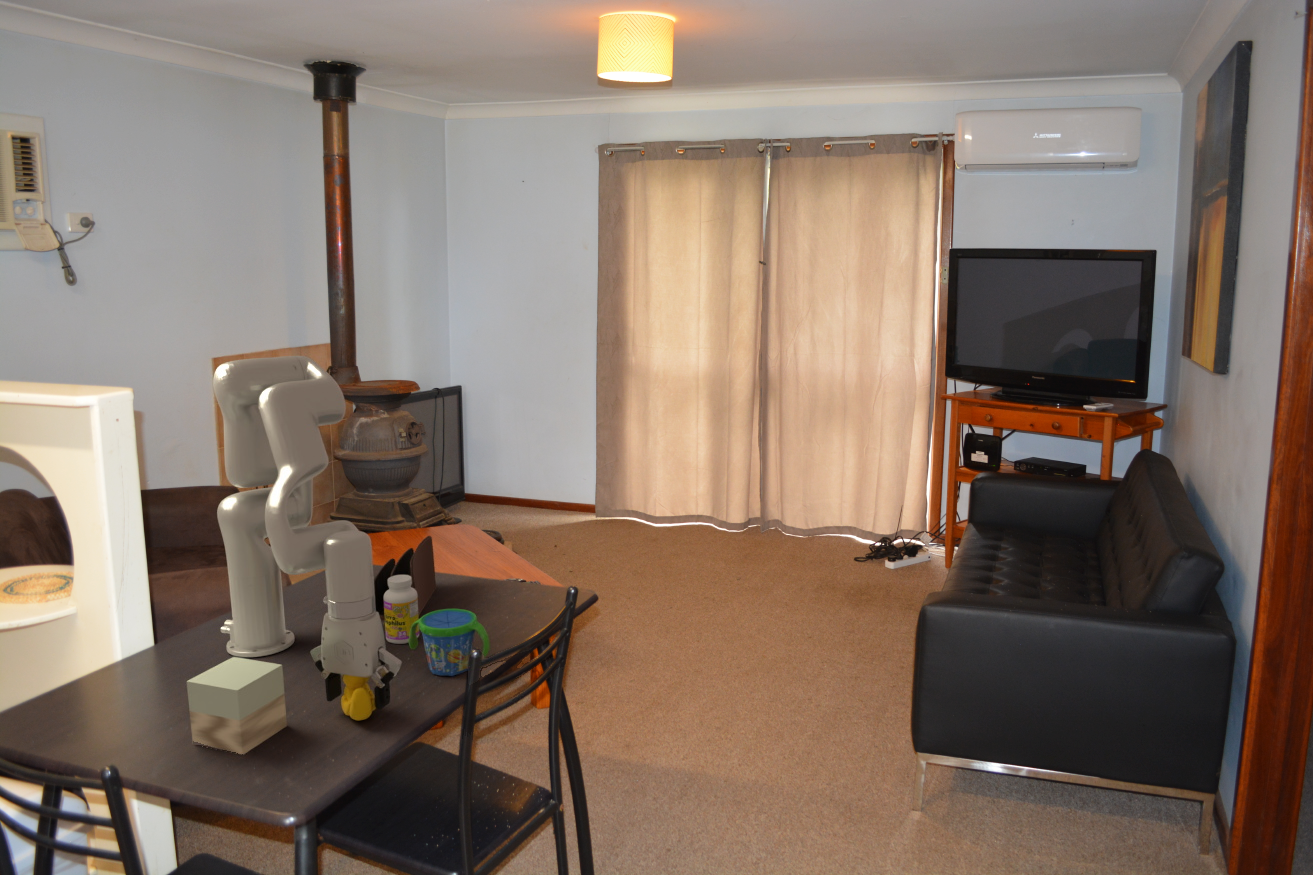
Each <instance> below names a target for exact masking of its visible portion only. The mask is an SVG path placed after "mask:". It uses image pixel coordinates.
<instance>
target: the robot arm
mask: <svg viewBox="0 0 1313 875" xmlns="http://www.w3.org/2000/svg"><path fill="white" fill-rule="evenodd" d="M212 380H213V381H212V384H213V386H212V387H213V393H214V396H215V398H216V400H217V401H216V402H217V403H218V406H219V408H220V409H219V410H220V411H221V416H222V422H223V446H224V447H223V451H224V467H225V468H224V470H225V475H226V479H227V481H228V483H229V484H230V485H232V486H234V487H236V488H240V489H241V488H242V489H247V488H249V489H250V488H256V487H260V488H256V489H250V490H246V491H240V492H236V493H233V494H230V495H228V496H226V497H225V498H224V499H222V500H221V501H220V503H219V504H218V505H217V506H218V507H217V510H216V511H217V512H216V516H217V522H218V526H219V529H220V534H221V536H222V540H223V544H224V549H225V556H226V564H227V574H228V583H229V584H228V585H229V596H230V603H231V604H230V605H231V606H230V607H231V616H232V619H226V620H225V621H224V624H223V625H222V626H221V627H220V633H223V634H229V638H230V639H229V640H228V641H227V643H226V652H227V653H228V654H230V655H231V656H233V657H238V658H259V657H264V656H269V655H274V654H278V653H279V652H282V651H284V650H286V649H288V648H289V647H291V646H292V645H293V644H295V643H294V642H295V634H294V633H293V631H291V630H290V629H289V630H288V629H286V620H285V608H284V595H283V584H282V583H283V582H282V572H283V573H285V574H288V575H290V576H291V575H292V576H295V575H296V576H297V575H303V574H306V573H311V572H314V571H321V570H323V569H324V571H325V572H324V573H325V586H326V595H325V596H323V599H322V601H323V604H324V605H327V612H326V613H324V615H323V621H322V627H321V644H320V645H318V646H316V647H314V648H313V649H311V650H310V652H309V653H310V655H311V657H312V660H313V661H314V662H315V663H314V665H315V667H316V669H317V670H318V671H319V672H320V676H321V679H324V682H325V694H326V701H327V702H332V701H334V700H335V699H337V698H338V697H339V696H342V695H343V694H342V692H343V691H342V680H341V678H342V674H343V675H349V676H356V677H363V678H367V677H369V678H371V679H372V680H373V682H374V683H375V685H376V686H375V687H374V688H373V689H374V691H373V693H374V698H375V707H376V708H375V710H378V711H380V710H382V709H383V708H384V707H386V706H388V705H389V704H390V701H391V687H390V686H391V684H390V682H392V681H393V680H394V678H395V677H397V675H398V674H399V671H400V668H401V666H402V664H403V661H402V660H401V659H399V658H398V656H397V657H396V656H395V655H394V654H392V653H391V652H389V651H388V650H387V647H386V645H387V644H386V640H385V639H386V637H385V634H384V632H385V631H384V628H383V623H382V620H381V619H380V616H379V613H378V612H376V606H375V591H374V578H375V577H374V561H373V547H372V540H371V537H370V535H368V533H366V532H364V531H360V530H359V529H358V528H357V527H356V525H355V524H354V523H353V522H351V521H349V520H342V519H341V520H335V521H330V522H325V523H318V524H314V525H310V523H311V521H312V517H313V511H314V510H313V509H314V506H313V505H314V503H313V502H314V489H313V488H314V478H315V477H317V476H318V475H320V474H321V473H323V472H324V471H325V470H326V469H327V467H328V465H329V460H330V459H329V456H328V453H327V451H326V447H325V443H324V442H323V438H322V434H321V431H320V428H319V427H320V426H322V427H323V426H329V425H335V424H338V423H340V422H341V421H342V420H343V419H344V417H345V414H346V411H347V410H346V408H347V406H346V400H345V396H344V394H343V391H342V389H341V387H340V386H339V384H338V382H337V381H336V380H335V379H334V378H333V376H331V375H330V373H329V372H327V371H326V370H325V369H324V368H322V366H320V364H318V363H317V362H316V361H315V360H313V359H312V358H310V357H308V356H305V355H285V356H274V357H257V358H255V357H254V358H244V359H237V360H236V359H235V360H231V361H227V362H223V363H222V364H220V365H219V366H218V367H217V368H216V369H215V371H214V375H213V379H212ZM270 485H272V486H270ZM265 486H269V487H265ZM261 487H262V488H261ZM264 487H265V488H264ZM266 538H268V541H269V544H270V545H269V544H268V543H267V542H266V541H265V539H266ZM386 666H388V668H389V669H387V667H386Z"/></svg>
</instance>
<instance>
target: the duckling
mask: <svg viewBox="0 0 1313 875" xmlns="http://www.w3.org/2000/svg"><path fill="white" fill-rule="evenodd" d="M341 678H342V681H343V683H344V684H345V687H344V689H343V694H341V698H340V704H341V710H342V711H343V713H344V714H345V716H349V717H350V718H351V719H353V721H354V720H355V721H363V720H367V719H368V718H369V717H370V716H371V715H372V713H373V711H375V710H376V707H375V693H374V691H373V690H372V689H371V688H370V686H369V684H368V682H369V680H370V677H367V678H363V677H356V676H349V675H343V674H341Z"/></svg>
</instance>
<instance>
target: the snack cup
mask: <svg viewBox="0 0 1313 875" xmlns="http://www.w3.org/2000/svg"><path fill="white" fill-rule="evenodd" d="M477 618H478V617H477V615H476V614H475V613H474V612H473V611H470V610H467V609H462V608H443V609H436V610H434V611H430V612H428V613H426V614H424V615H422V616H421V617H420V618H419V619H418V620H417V621H416V622H414V623H413V625H412V626H411V629H410V633H409V643H408V645H409V648H410V649H411V650H415V649H417V647H418V645H419V640H418V638H417V636H416V627H417V624H419V631H420V633H422V634H421V635H422V639H423V645H424V650H425V654H426V660H427V664H428V668H429V671H430V672H431V673H432V674H433V675H438V676H448V677H449V676H450V677H454V676H455V675H460V674H462V673H464V672H467V671H468V670H467V666H468V658H469V655H470V653H471V652H472V653H473V646H474V645H473V644H474V636H475V632H477V634H478V636H479V637H480V639H481V640H482V652H483V655H484V657H485V658H486V657H487V655H489V654H488V653H489V651H490V645H491V644H490V639H489V636H488V633H487V631H486V628H485V626H483V625H482V623H480V622H479V621H478V619H477Z"/></svg>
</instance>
